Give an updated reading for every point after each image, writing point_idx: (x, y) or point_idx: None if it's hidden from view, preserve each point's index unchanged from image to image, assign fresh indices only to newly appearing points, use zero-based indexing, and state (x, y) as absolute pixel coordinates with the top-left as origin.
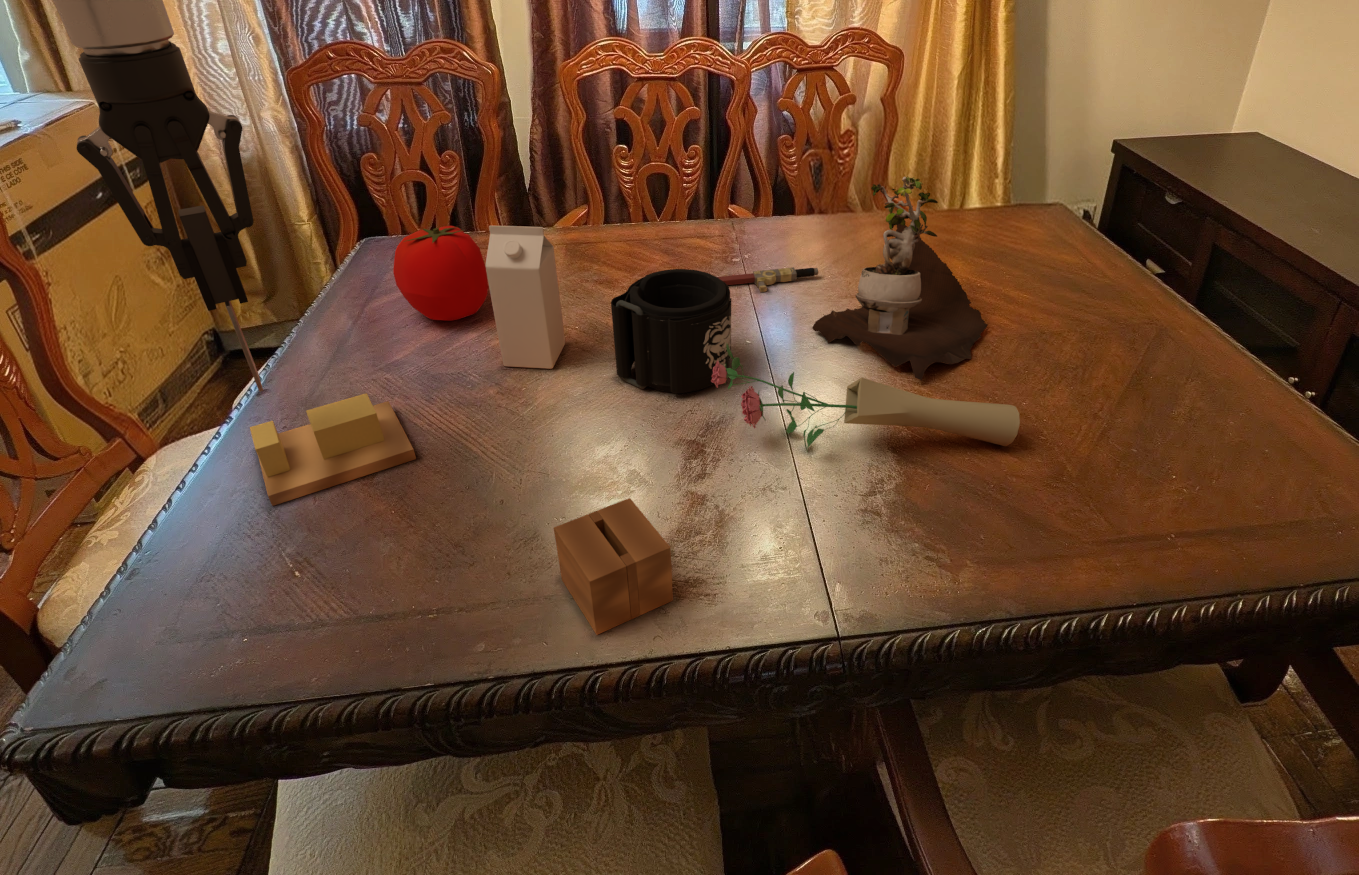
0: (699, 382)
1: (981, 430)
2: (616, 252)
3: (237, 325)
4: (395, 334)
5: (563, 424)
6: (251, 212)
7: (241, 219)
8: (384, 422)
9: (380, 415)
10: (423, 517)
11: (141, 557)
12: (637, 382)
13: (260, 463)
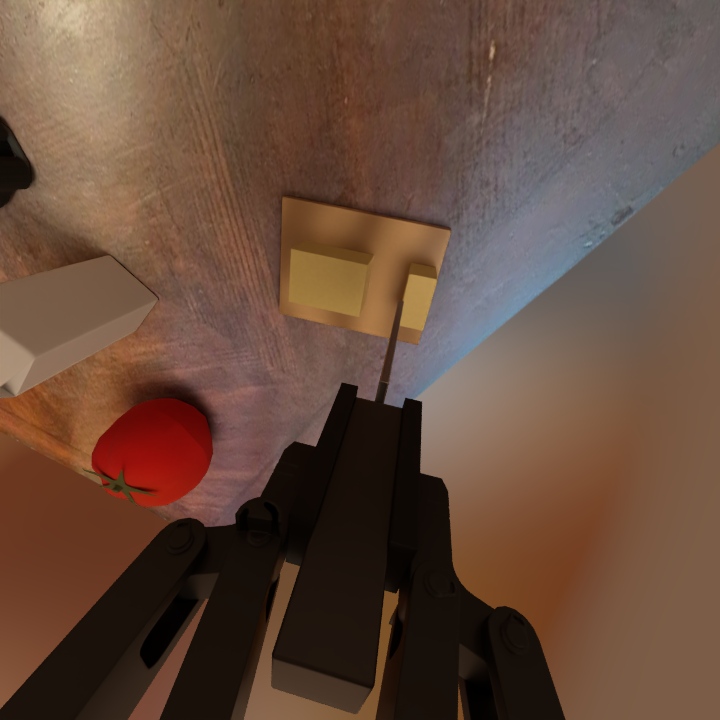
0: None
1: None
2: (23, 403)
3: (386, 355)
4: (244, 423)
5: (115, 129)
6: (133, 564)
7: (186, 555)
8: None
9: None
10: (319, 52)
11: (597, 240)
12: (3, 131)
13: None
